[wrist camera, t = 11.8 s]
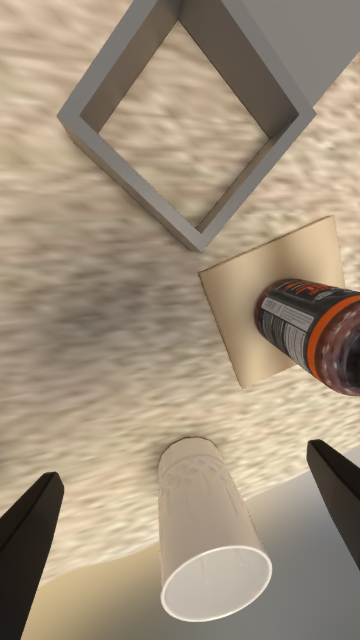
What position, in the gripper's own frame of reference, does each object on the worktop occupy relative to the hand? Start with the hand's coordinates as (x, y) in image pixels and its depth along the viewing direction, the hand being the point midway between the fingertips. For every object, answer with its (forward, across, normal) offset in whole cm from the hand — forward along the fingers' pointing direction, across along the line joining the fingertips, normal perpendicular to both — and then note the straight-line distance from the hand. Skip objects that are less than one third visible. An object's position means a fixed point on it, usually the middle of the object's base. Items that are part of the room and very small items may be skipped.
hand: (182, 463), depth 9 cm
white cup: (+12, +1, +16) cm, 20 cm away
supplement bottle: (+14, -10, 0) cm, 17 cm away
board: (+14, -10, 0) cm, 17 cm away
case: (+15, -6, -17) cm, 23 cm away
